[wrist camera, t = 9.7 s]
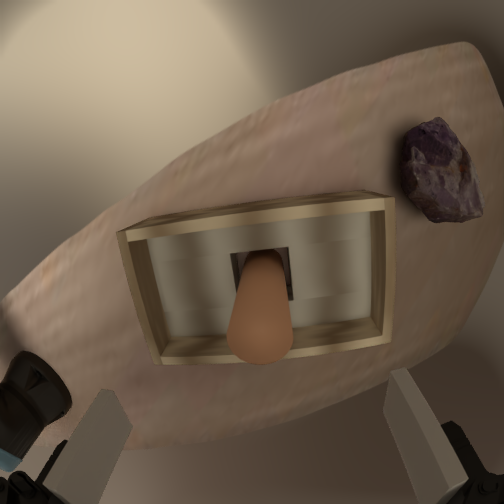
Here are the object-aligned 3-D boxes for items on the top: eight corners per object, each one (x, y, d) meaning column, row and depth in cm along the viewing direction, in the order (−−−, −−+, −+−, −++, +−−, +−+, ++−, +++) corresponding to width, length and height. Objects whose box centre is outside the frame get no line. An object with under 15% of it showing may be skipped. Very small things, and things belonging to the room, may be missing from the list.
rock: (422, 121, 28) (363, 162, 29) (455, 98, 19) (388, 145, 21) (470, 202, 28) (417, 248, 30) (511, 201, 20) (454, 258, 21)
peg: (247, 284, 33) (232, 366, 18) (242, 248, 32) (221, 312, 17) (284, 280, 32) (295, 361, 18) (280, 244, 31) (290, 305, 17)
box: (175, 327, 35) (154, 364, 27) (149, 217, 31) (116, 232, 24) (367, 307, 33) (390, 342, 25) (364, 190, 29) (394, 197, 22)
